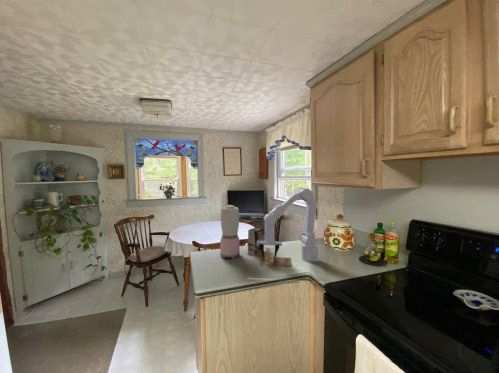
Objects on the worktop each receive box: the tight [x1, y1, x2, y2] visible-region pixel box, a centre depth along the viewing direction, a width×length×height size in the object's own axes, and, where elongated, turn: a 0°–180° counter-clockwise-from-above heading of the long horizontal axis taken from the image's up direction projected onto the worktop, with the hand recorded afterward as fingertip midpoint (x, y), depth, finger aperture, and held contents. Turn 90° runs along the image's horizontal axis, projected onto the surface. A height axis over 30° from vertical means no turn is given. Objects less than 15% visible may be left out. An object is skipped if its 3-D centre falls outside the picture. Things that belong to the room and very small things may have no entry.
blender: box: [219, 204, 241, 260], centre depth 140 cm, size 16×12×32 cm
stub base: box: [259, 256, 293, 268], centre depth 129 cm, size 18×13×4 cm
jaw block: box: [264, 247, 274, 265], centre depth 129 cm, size 4×9×6 cm, turn 174°
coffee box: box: [247, 227, 264, 256], centre depth 144 cm, size 9×6×16 cm
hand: (269, 257), depth 129 cm, fingers open, 6 cm apart
